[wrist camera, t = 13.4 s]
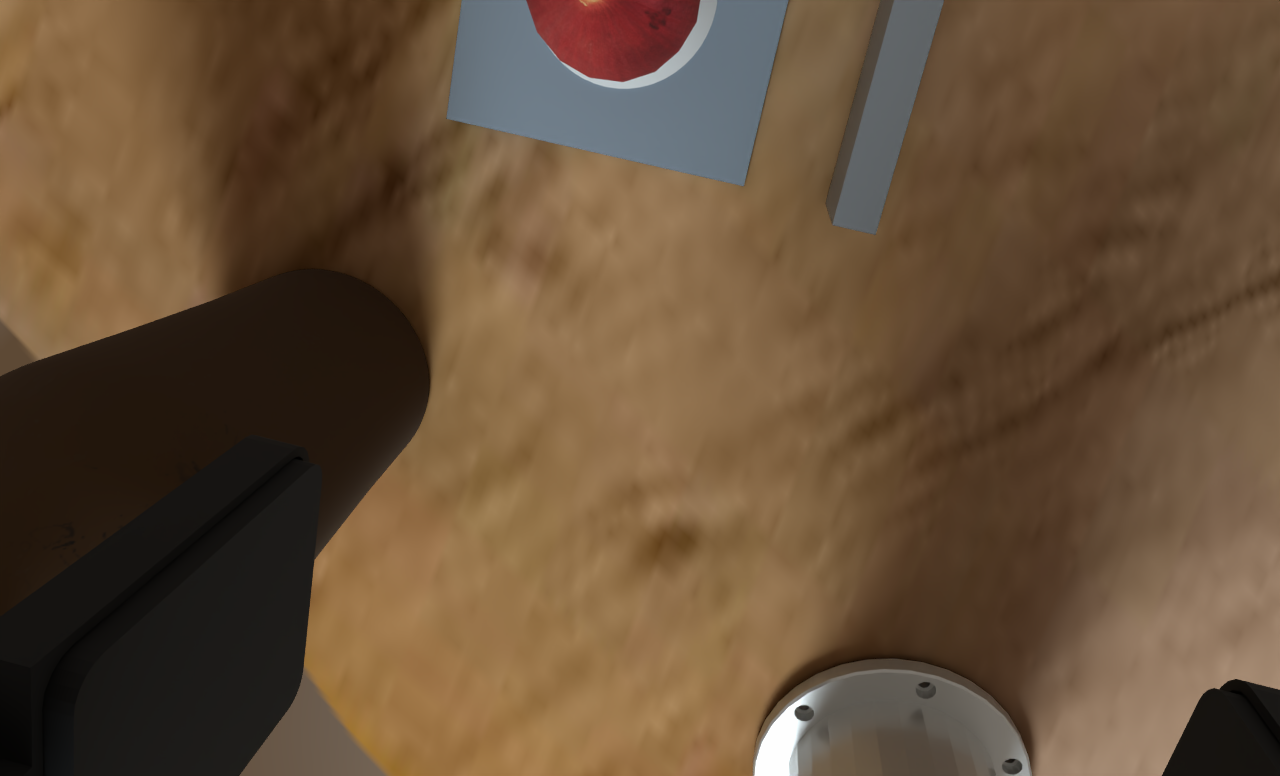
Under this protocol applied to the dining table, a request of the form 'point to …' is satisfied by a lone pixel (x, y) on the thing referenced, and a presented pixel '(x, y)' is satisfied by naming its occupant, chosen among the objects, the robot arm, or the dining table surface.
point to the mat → (624, 88)
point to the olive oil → (202, 412)
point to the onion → (614, 33)
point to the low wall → (881, 111)
